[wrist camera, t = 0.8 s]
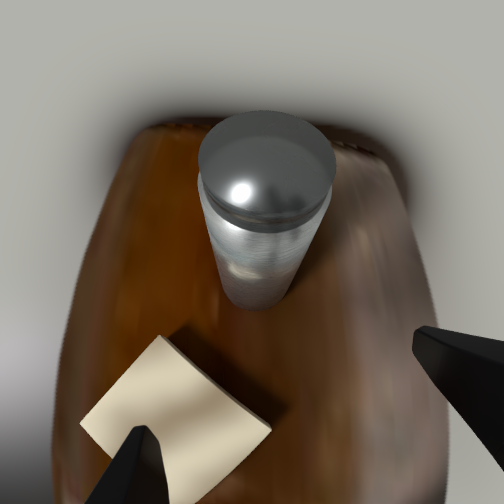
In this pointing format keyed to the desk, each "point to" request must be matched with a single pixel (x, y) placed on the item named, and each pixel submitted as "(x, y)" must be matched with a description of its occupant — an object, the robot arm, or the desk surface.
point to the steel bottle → (263, 200)
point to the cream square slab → (178, 420)
